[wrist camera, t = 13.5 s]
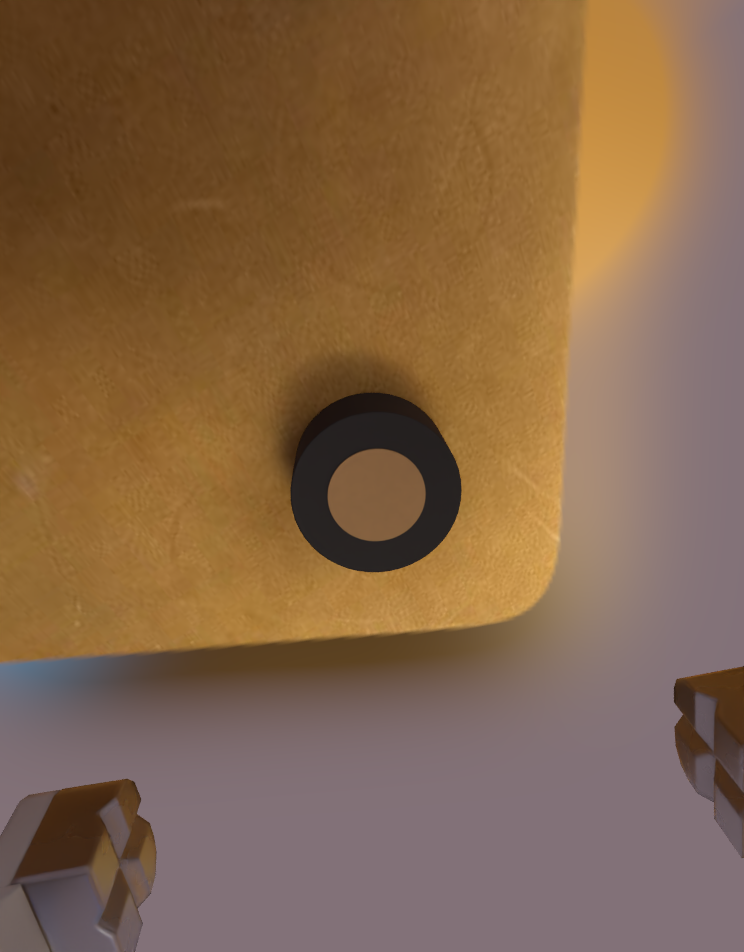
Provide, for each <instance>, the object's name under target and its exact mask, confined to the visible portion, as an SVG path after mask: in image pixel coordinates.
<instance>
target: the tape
mask: <svg viewBox="0 0 744 952" xmlns="http://www.w3.org/2000/svg"><path fill="white" fill-rule="evenodd" d="M460 501H461V479H460V474H459V469H458V466H457V463H456V461H455V458H454V456H453V455H452V453H451V451H450V449H449V447H448V446H447V444H446V442H445V440H444V439H443V437H442V435H441V434H440V432H439V430H438V428H437V427H436V425H435V424H434V423H433V421H432V420H431V419H430V418H429V417H428V416H427V414H426V413H425V412H423V411H422V410H421V409H420V408H418V407H417V406H416V405H414V404H412V403H411V402H409V401H407V400H405V399H402V398H400V397H397V396H393V395H390V394H384V393H361V394H355V395H351V396H348V397H345V398H343V399H340V400H338V401H336V402H334V403H332V404H330V405H329V406H328V407H326V408H325V409H323V410H322V411H321V412H320V413H319V414H318V415H317V416H316V417H315V418H314V419H313V420H312V421H311V423H310V424H309V425H308V426H307V428H306V430H305V431H304V433H303V435H302V437H301V440H300V442H299V445H298V449H297V452H296V458H295V464H294V469H293V475H292V482H291V505H292V511H293V514H294V517H295V520H296V523H297V525H298V527H299V529H300V531H301V532H302V534H303V536H304V537H305V539H306V540H307V541H308V542H309V543H310V545H311V546H312V547H313V548H314V549H315V550H317V551H318V552H319V553H320V554H321V555H323V556H324V557H326V558H327V559H328V560H330V561H332V562H334V563H336V564H338V565H341V566H343V567H346V568H349V569H353V570H357V571H364V572H384V571H391V570H395V569H400V568H403V567H405V566H408V565H411V564H413V563H415V562H417V561H419V560H420V559H422V558H423V557H425V556H426V555H428V554H429V553H430V552H431V551H433V550H434V549H435V548H436V547H437V546H438V545H439V544H440V543H441V542H442V541H443V539H444V538H445V537H446V535H447V534H448V532H449V531H450V529H451V527H452V525H453V524H454V522H455V519H456V516H457V514H458V511H459V506H460Z"/></svg>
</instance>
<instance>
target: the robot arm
mask: <svg viewBox="0 0 744 952" xmlns="http://www.w3.org/2000/svg"><path fill="white" fill-rule="evenodd" d="M674 703H675V704H676V705H677V707H678V708H679V709H680V711H681V712H682V713H683V716H682V717H681V719H680V720H679V721H678V723H677V724H676V726H675V741H676V748H677V752H678V756H679V759H680V763H681V766H682V768H683V770H684V772H685V774H686V776H687V778H688V780H689V782H690V783H691V785H692V786H693V787H694V789H695V791H696V792H697V793H698V794H700V795H701V796H703V797H705V798H707V799H709V800H711V801H712V802H714V819H715V820H716V822H717V823H718V824H719V826H720V827H721V829H722V830H723V832H724V833H725V835H726V836H727V837H728V839H729V840H730V842H731V843H732V845H733V846H734V847H735V849H736V850H737V852H738V853H739V855H740V856H741V857H742V858H744V666H743V667H738V668H733V669H728V670H722V671H717V672H711V673H706V674H701V675H696V676H691V677H685V678H680V679H677V680H676V683H675V686H674ZM140 802H141V798H140V795H139V792H138V790H137V787H136V785H135V783H134V782H133V781H131V780H129V779H122V780H116V781H110V782H104V783H97V784H91V785H84V786H78V787H72V788H65V789H62V790H56V791H50V792H44V793H38V794H32V795H28V796H27V797H25V798H24V799H22V800H21V801H20V802H19V804H18V805H17V807H16V809H15V811H14V813H13V814H12V816H11V818H10V820H9V822H8V823H7V825H6V827H5V829H4V830H3V832H2V834H1V836H0V952H135V950H136V946H137V943H138V939H139V935H140V931H141V928H142V924H143V923H142V920H141V918H140V915H139V912H138V907H139V906H140V905H141V904H142V903H143V902H144V901H145V899H146V898H147V897H148V896H149V895H150V894H151V890H152V886H153V882H154V878H155V872H156V846H155V840H154V835H153V832H152V829H151V826H150V823H149V822H147V821H146V820H144V819H143V818H142V817H140V816H139V815H137V811H138V808H139V804H140Z"/></svg>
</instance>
